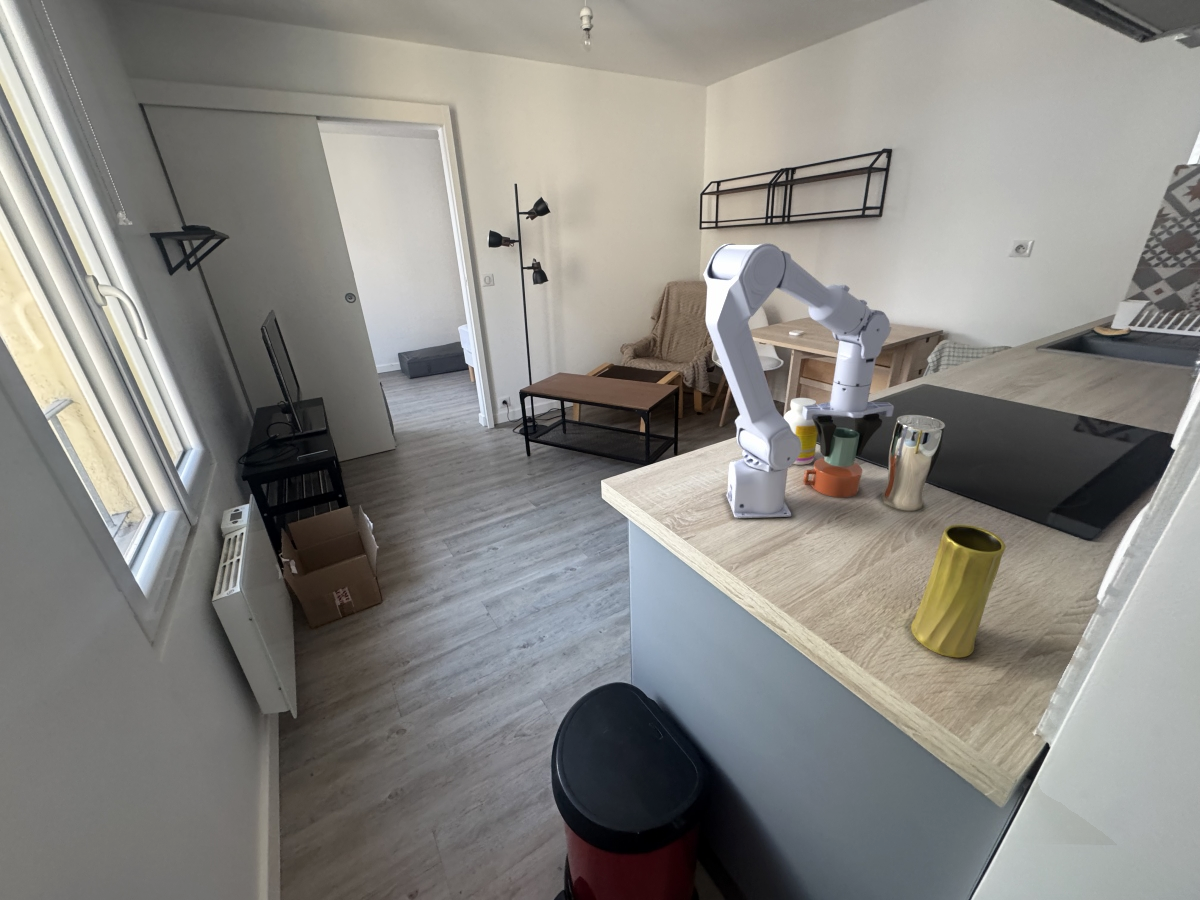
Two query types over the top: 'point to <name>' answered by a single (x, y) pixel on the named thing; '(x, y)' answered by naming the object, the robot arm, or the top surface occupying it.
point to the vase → (958, 590)
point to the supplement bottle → (803, 429)
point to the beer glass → (911, 460)
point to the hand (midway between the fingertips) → (839, 453)
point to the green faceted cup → (843, 447)
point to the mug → (834, 479)
